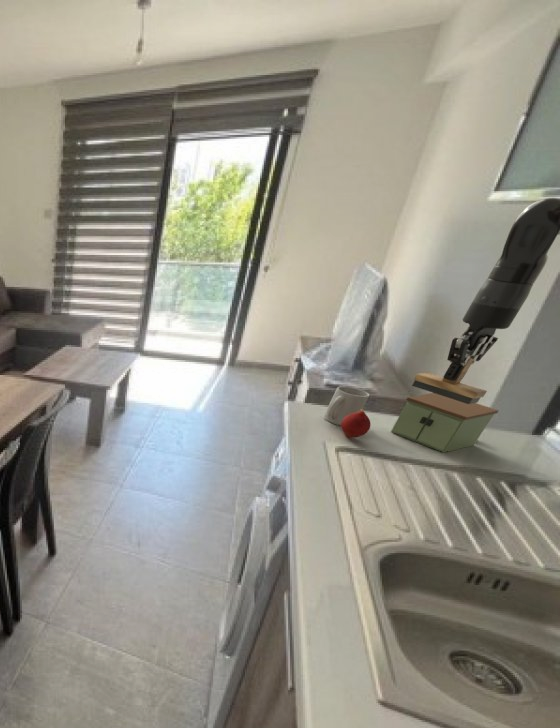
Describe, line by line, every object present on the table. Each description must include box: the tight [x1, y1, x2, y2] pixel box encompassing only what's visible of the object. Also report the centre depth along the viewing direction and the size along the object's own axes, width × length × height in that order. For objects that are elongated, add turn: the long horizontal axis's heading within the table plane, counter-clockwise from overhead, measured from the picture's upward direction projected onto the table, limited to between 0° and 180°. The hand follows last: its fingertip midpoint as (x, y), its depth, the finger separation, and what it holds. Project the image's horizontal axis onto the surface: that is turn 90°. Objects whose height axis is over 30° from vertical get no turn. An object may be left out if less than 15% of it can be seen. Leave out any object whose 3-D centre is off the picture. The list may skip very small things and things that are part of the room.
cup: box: [323, 385, 370, 426], centre depth 131 cm, size 7×10×9 cm
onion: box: [340, 409, 371, 439], centre depth 122 cm, size 6×6×8 cm
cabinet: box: [390, 392, 499, 453], centre depth 124 cm, size 13×15×10 cm
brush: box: [411, 356, 488, 404], centre depth 111 cm, size 12×4×9 cm, turn 22°
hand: (452, 378), depth 111 cm, fingers closed on brush, 2 cm apart
